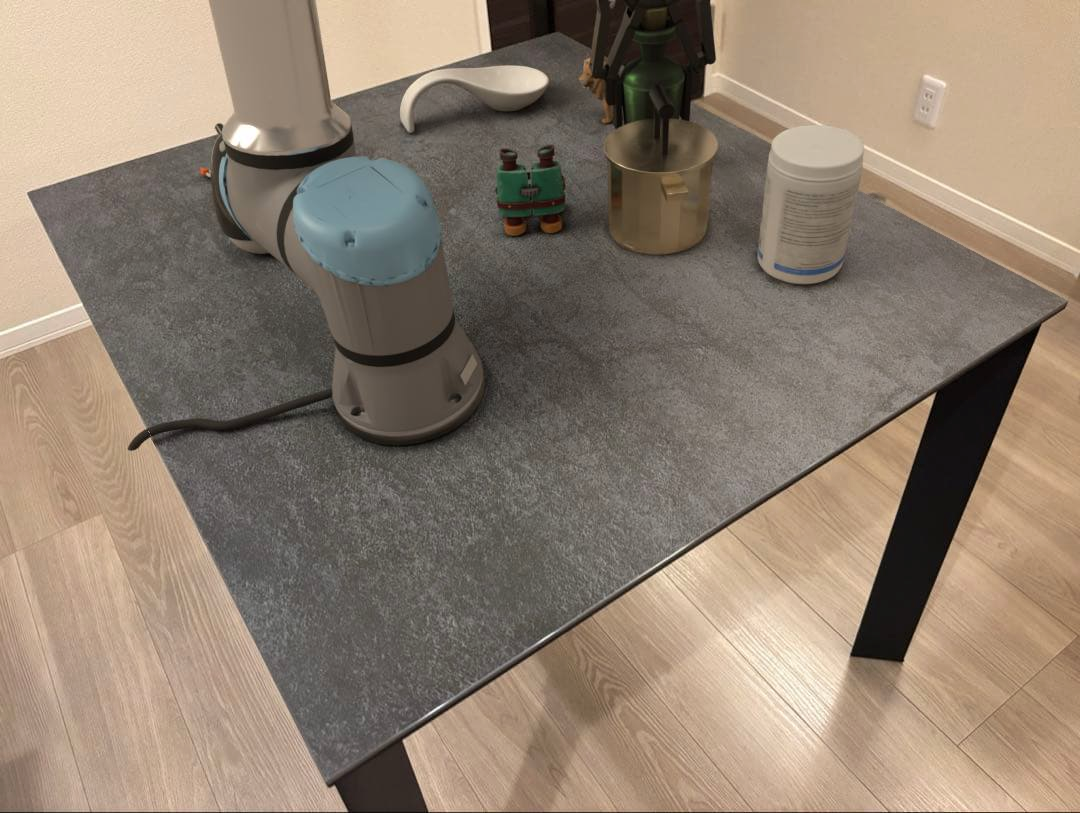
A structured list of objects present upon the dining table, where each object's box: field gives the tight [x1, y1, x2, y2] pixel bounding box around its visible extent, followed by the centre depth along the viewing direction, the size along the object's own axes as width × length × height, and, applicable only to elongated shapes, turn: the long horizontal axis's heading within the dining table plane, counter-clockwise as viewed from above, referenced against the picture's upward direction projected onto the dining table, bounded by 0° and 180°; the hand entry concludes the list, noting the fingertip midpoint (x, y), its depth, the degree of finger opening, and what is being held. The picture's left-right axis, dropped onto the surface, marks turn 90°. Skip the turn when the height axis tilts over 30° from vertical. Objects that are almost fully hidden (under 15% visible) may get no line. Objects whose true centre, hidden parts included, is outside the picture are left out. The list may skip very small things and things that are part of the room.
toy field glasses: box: [494, 144, 566, 237], centre depth 103 cm, size 9×11×10 cm
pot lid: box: [603, 85, 719, 177], centre depth 93 cm, size 13×13×7 cm
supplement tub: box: [757, 124, 865, 285], centre depth 90 cm, size 10×10×15 cm
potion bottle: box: [620, 6, 685, 125], centre depth 104 cm, size 8×8×18 cm
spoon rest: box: [399, 64, 550, 134], centre depth 126 cm, size 24×12×7 cm, turn 114°
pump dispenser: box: [210, 122, 270, 255], centre depth 101 cm, size 10×10×15 cm
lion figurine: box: [578, 57, 621, 124], centre depth 119 cm, size 15×5×9 cm, turn 55°
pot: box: [606, 159, 714, 256], centre depth 99 cm, size 12×17×10 cm
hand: (650, 122), depth 108 cm, fingers closed on potion bottle, 8 cm apart
